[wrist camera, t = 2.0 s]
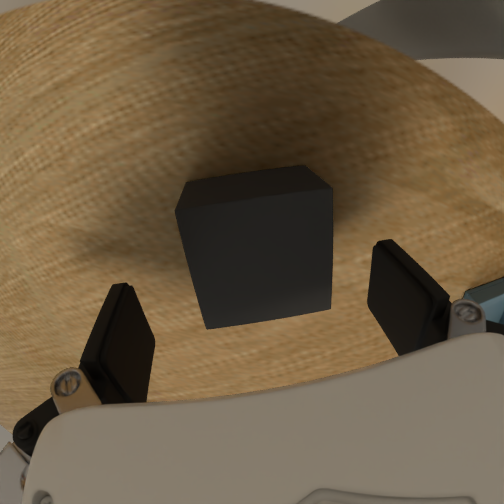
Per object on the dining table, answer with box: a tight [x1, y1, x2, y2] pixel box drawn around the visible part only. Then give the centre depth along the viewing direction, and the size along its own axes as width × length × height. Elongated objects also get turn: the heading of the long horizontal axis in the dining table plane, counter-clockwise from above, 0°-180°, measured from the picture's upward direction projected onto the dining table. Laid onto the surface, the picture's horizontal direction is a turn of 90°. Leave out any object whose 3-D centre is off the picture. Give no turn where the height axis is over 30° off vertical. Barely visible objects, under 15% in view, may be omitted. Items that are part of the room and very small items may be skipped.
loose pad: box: [175, 165, 333, 329], centre depth 14 cm, size 6×6×4 cm
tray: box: [463, 278, 504, 324], centre depth 23 cm, size 15×9×2 cm, turn 7°
